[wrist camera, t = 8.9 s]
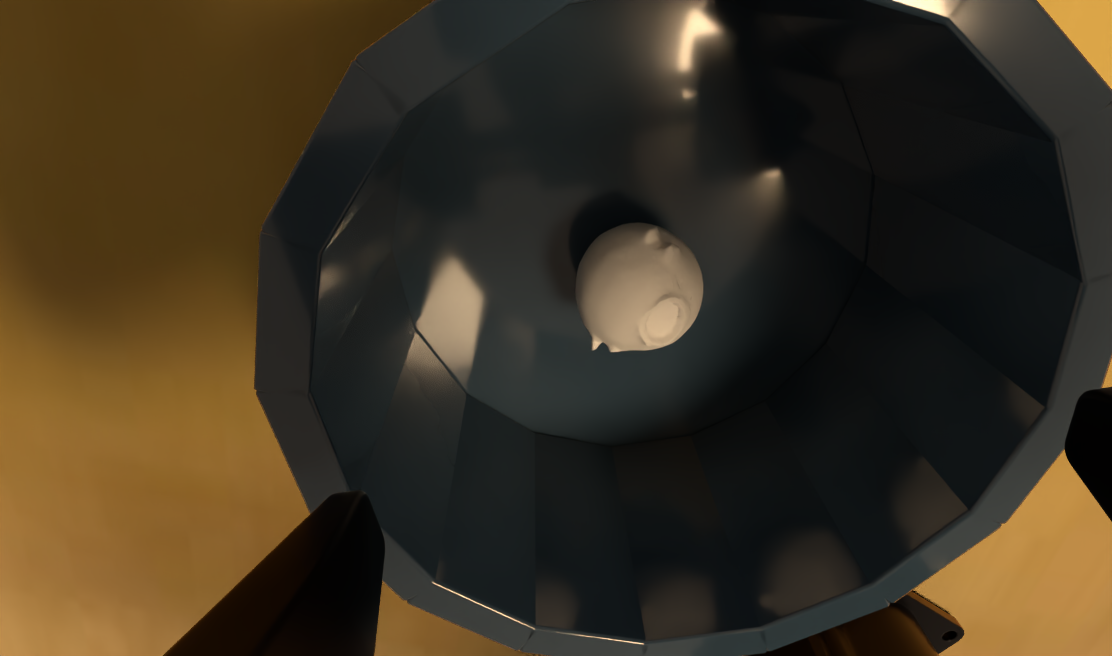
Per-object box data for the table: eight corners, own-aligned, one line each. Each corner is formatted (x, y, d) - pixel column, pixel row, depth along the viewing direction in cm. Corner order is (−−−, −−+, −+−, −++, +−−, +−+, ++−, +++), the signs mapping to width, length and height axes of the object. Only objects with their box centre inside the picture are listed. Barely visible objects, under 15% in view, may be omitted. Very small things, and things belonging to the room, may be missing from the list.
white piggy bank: (603, 184, 14) (618, 226, 11) (716, 234, 14) (756, 284, 12) (549, 297, 15) (553, 358, 12) (656, 338, 16) (680, 404, 13)
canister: (1006, 193, 15) (1304, 316, 9) (656, 518, 19) (708, 736, 13) (585, -227, 11) (643, -475, 5) (272, 303, 15) (120, 481, 10)
